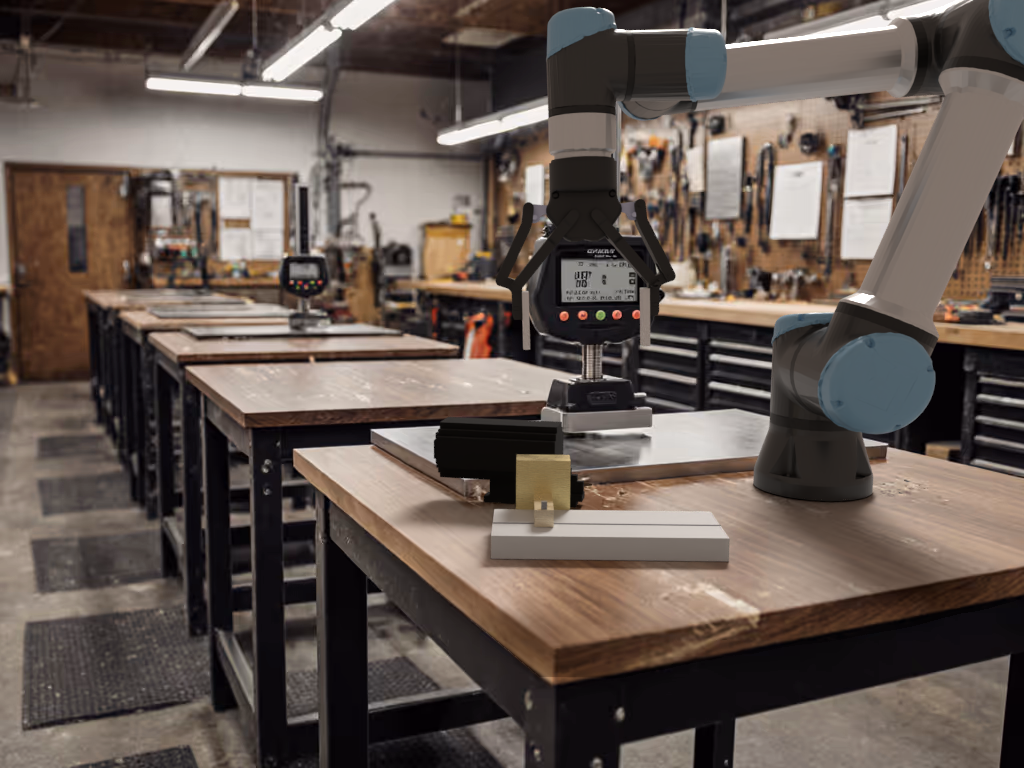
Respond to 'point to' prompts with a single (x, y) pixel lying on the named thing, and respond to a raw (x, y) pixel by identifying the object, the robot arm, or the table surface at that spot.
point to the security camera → (497, 452)
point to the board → (610, 536)
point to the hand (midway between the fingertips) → (585, 347)
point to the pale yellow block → (543, 485)
